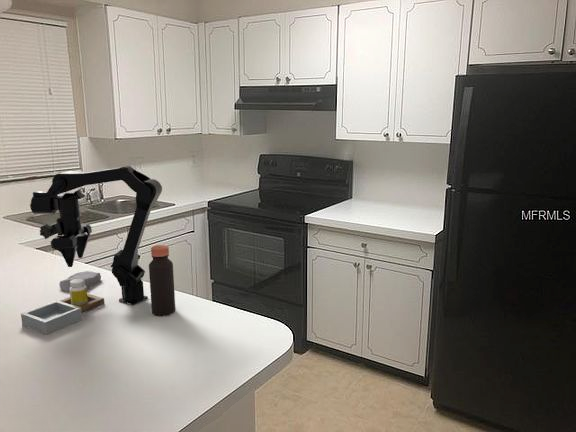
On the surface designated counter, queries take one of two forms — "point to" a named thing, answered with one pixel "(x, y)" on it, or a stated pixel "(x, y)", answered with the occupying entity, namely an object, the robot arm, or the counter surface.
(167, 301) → the vinegar
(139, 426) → the counter surface
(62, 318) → the tray
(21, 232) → the counter surface
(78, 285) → the supplement bottle
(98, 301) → the holder ring
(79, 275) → the stone block
